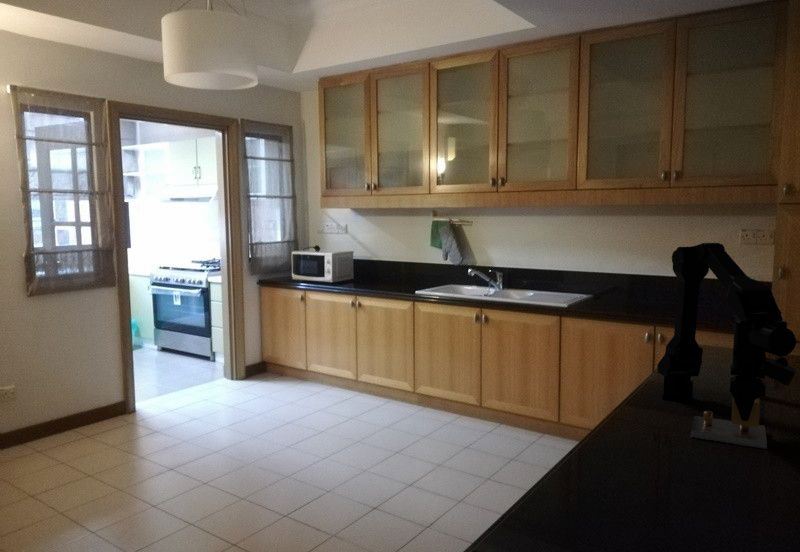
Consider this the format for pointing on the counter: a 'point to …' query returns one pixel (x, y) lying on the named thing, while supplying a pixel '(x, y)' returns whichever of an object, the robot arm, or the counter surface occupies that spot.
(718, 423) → the plate
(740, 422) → the tan cardboard box
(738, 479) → the counter surface
